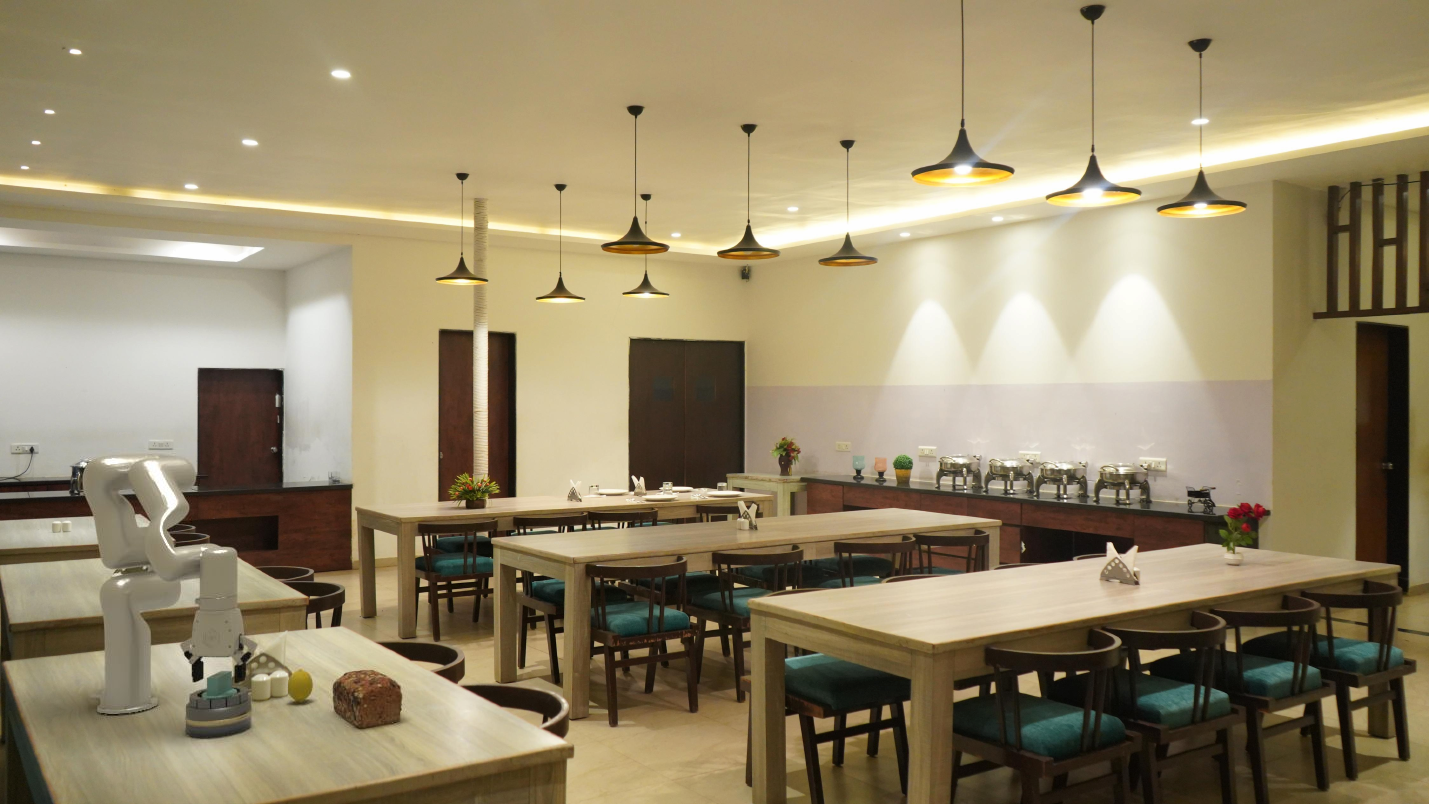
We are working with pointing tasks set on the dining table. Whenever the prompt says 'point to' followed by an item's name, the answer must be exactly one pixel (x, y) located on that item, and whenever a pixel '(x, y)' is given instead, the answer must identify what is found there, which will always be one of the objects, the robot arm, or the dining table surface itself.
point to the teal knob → (219, 685)
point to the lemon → (300, 685)
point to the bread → (367, 698)
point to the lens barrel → (218, 714)
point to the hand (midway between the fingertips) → (218, 681)
